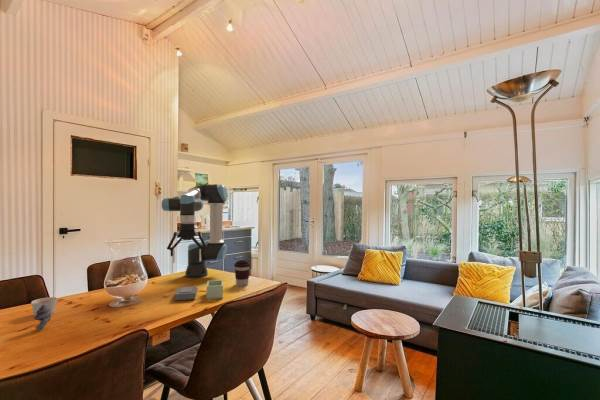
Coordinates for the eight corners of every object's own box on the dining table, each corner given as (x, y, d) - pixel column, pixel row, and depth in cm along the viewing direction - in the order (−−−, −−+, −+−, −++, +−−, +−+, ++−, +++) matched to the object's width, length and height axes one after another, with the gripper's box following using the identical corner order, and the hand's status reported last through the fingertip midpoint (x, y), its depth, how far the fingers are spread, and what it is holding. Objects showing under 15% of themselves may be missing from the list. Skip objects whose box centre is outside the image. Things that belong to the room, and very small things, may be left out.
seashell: (33, 329, 119) (34, 304, 119) (51, 325, 123) (51, 301, 123) (34, 333, 115) (35, 307, 115) (52, 329, 119) (52, 304, 119)
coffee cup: (248, 287, 181) (248, 262, 181) (232, 286, 181) (232, 262, 181) (251, 282, 191) (251, 259, 191) (236, 282, 191) (236, 259, 191)
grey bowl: (60, 312, 137) (60, 299, 137) (35, 319, 129) (35, 304, 129) (52, 309, 141) (52, 296, 141) (27, 315, 133) (28, 301, 134)
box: (207, 293, 168) (207, 280, 168) (222, 292, 170) (222, 279, 171) (206, 299, 157) (206, 286, 157) (222, 298, 159) (222, 285, 159)
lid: (178, 294, 166) (178, 286, 166) (197, 293, 168) (197, 285, 168) (174, 302, 153) (174, 293, 153) (194, 300, 156) (195, 292, 156)
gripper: (161, 223, 154) (161, 264, 155) (210, 223, 161) (210, 261, 161) (164, 222, 162) (163, 261, 162) (211, 222, 168) (211, 259, 168)
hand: (187, 261), depth 161 cm, fingers open, 13 cm apart
